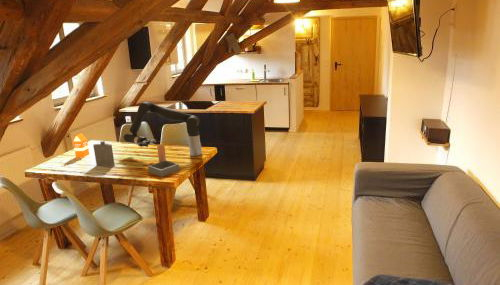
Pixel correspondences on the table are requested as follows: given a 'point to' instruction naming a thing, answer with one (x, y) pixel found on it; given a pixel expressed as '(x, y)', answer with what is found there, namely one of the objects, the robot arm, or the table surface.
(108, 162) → the hip flask
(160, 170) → the tote
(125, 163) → the table surface
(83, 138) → the orange juice
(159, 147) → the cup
